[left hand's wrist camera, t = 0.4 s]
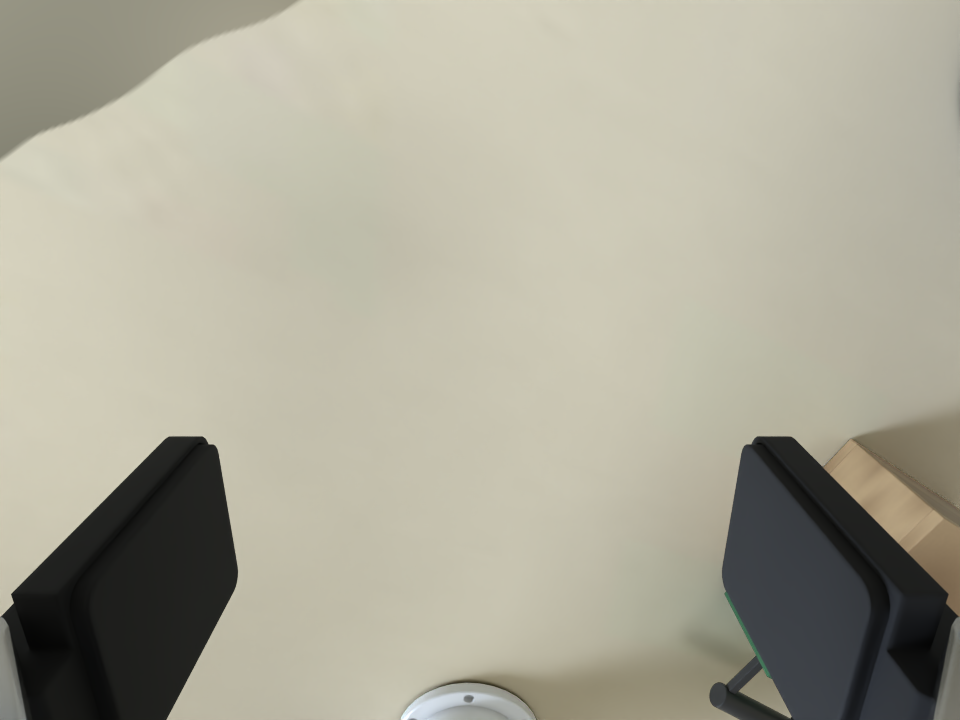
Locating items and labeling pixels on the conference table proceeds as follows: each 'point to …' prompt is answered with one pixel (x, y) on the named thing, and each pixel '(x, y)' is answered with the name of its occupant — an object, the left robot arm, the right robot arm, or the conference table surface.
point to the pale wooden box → (905, 513)
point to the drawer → (727, 697)
